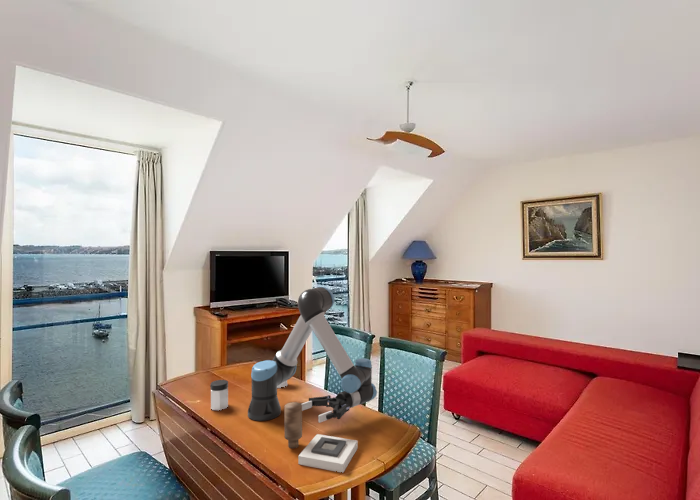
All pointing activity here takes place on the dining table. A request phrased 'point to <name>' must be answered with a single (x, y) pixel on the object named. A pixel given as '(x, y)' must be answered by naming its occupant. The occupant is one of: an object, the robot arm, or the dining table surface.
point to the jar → (219, 394)
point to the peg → (293, 423)
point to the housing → (328, 453)
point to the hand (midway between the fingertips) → (308, 413)
